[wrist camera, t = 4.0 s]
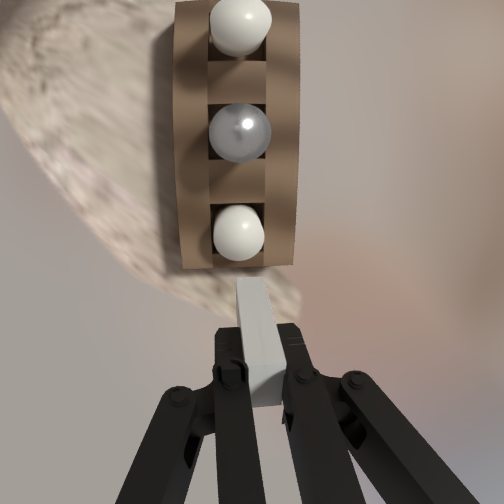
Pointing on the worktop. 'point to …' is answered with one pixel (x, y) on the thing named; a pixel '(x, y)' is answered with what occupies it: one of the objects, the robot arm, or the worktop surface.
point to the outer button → (238, 231)
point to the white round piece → (239, 26)
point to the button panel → (199, 146)
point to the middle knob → (240, 132)
